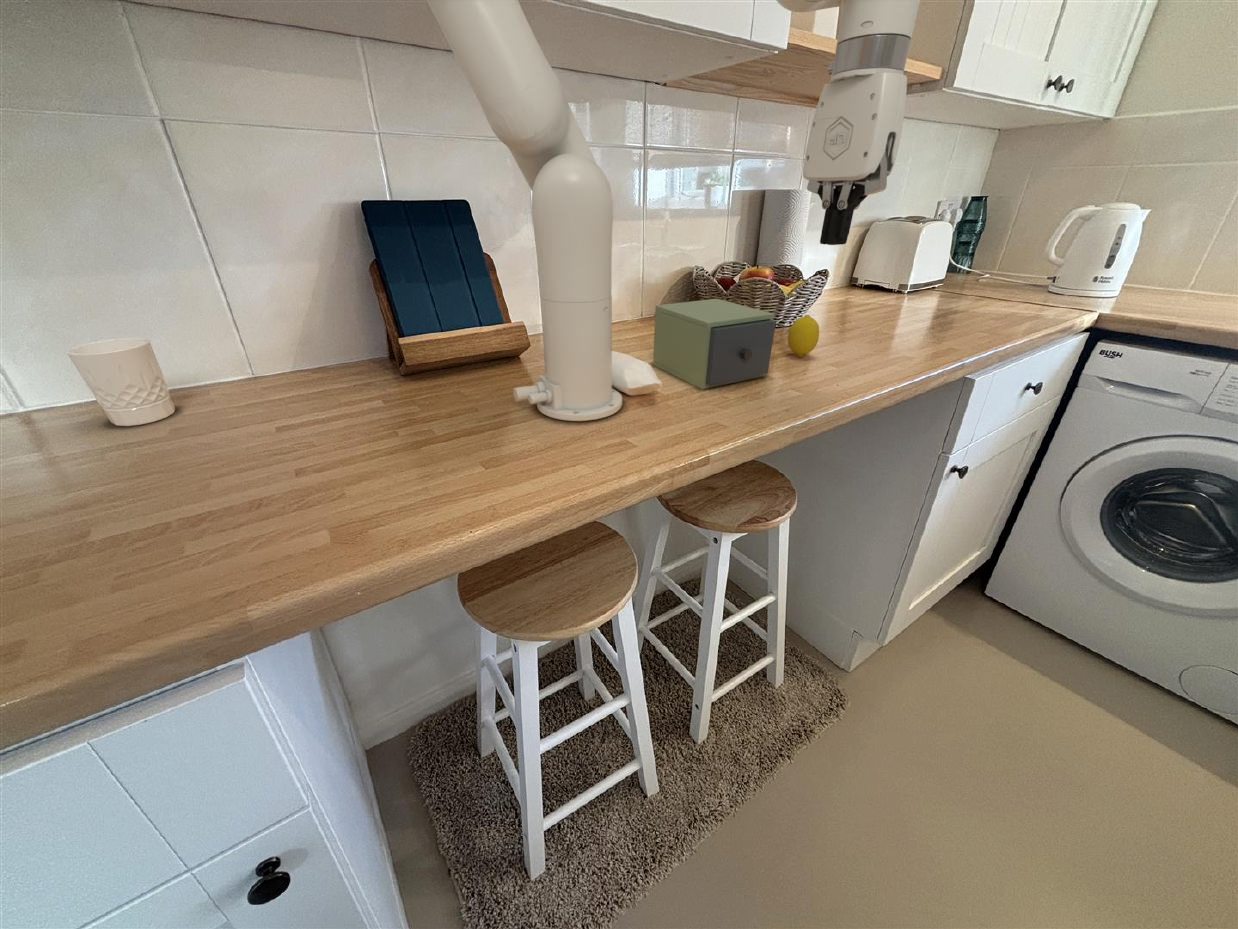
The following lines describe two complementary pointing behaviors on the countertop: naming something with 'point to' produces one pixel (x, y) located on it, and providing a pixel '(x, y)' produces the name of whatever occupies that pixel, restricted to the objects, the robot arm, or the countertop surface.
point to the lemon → (803, 335)
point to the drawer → (739, 351)
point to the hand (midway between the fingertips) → (832, 243)
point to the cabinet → (695, 335)
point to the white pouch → (633, 375)
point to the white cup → (124, 379)
